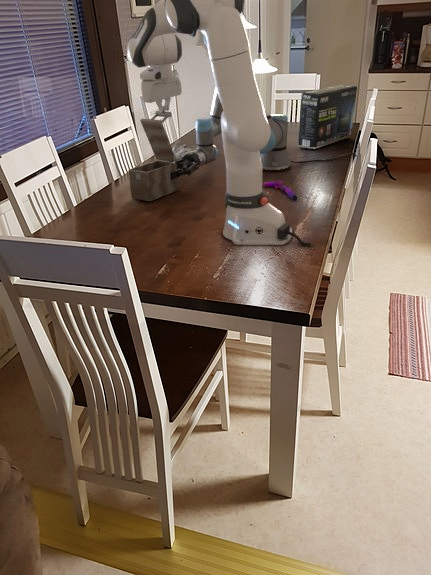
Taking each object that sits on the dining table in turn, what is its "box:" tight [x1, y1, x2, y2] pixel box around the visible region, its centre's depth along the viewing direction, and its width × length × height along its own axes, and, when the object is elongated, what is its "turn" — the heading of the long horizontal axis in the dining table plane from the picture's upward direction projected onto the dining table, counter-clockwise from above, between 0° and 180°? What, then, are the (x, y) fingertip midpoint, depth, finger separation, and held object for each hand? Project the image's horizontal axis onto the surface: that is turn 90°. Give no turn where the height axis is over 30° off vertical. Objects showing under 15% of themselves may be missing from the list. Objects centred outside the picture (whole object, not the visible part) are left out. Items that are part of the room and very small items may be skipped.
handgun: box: [262, 180, 298, 201], centre depth 180 cm, size 21×8×2 cm, turn 11°
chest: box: [128, 159, 179, 202], centre depth 182 cm, size 17×10×11 cm, turn 146°
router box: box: [297, 84, 358, 151], centre depth 238 cm, size 36×11×27 cm, turn 134°
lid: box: [139, 110, 176, 162], centre depth 180 cm, size 18×10×9 cm
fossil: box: [172, 142, 197, 160], centre depth 229 cm, size 18×11×15 cm
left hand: (164, 111), depth 177 cm, fingers closed
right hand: (161, 174), depth 184 cm, fingers closed on chest, 10 cm apart
